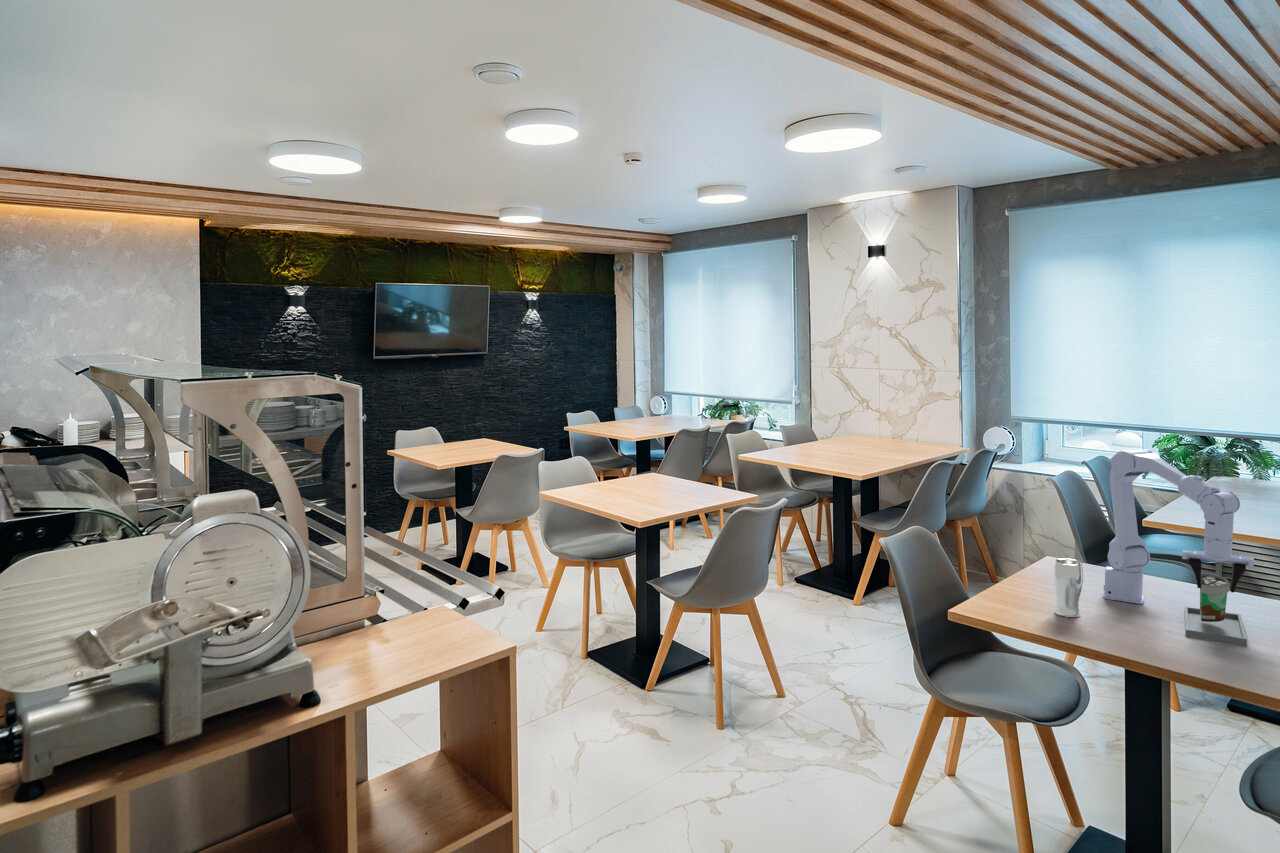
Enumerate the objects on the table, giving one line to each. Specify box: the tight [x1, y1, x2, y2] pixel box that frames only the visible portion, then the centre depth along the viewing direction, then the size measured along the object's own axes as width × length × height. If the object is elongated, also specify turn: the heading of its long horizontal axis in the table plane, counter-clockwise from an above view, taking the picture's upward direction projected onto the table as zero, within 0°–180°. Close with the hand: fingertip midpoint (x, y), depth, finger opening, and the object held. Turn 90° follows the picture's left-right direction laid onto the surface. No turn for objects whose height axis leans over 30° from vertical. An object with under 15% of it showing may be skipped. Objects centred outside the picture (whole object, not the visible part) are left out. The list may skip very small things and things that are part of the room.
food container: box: [1199, 572, 1231, 622], centre depth 191 cm, size 12×6×10 cm, turn 144°
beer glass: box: [1053, 558, 1084, 618], centre depth 203 cm, size 7×7×15 cm
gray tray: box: [1184, 606, 1248, 646], centre depth 191 cm, size 12×20×2 cm, turn 144°
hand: (1215, 589), depth 191 cm, fingers closed on food container, 6 cm apart
